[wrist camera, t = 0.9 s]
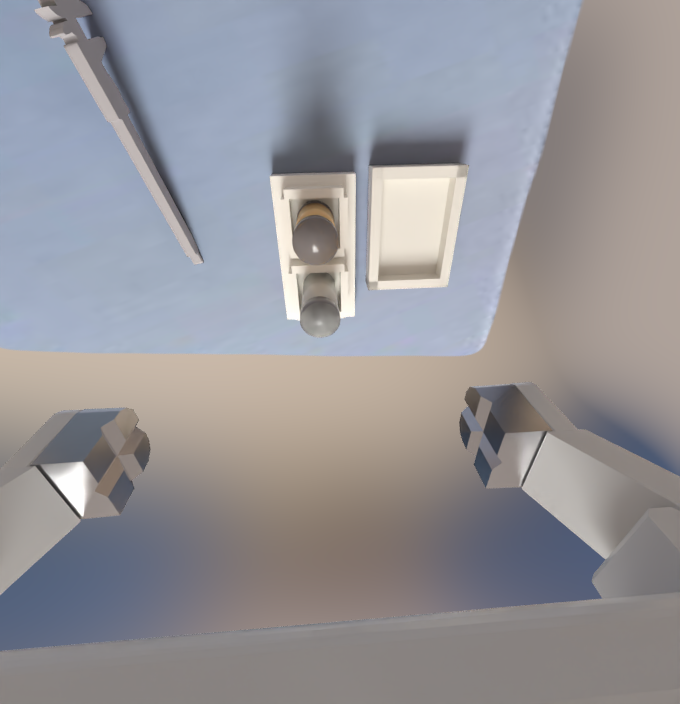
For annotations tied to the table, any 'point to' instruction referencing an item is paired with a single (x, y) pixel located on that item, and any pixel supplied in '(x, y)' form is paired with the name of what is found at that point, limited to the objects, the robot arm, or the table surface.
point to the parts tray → (412, 224)
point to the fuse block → (317, 280)
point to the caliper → (112, 105)
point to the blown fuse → (315, 233)
